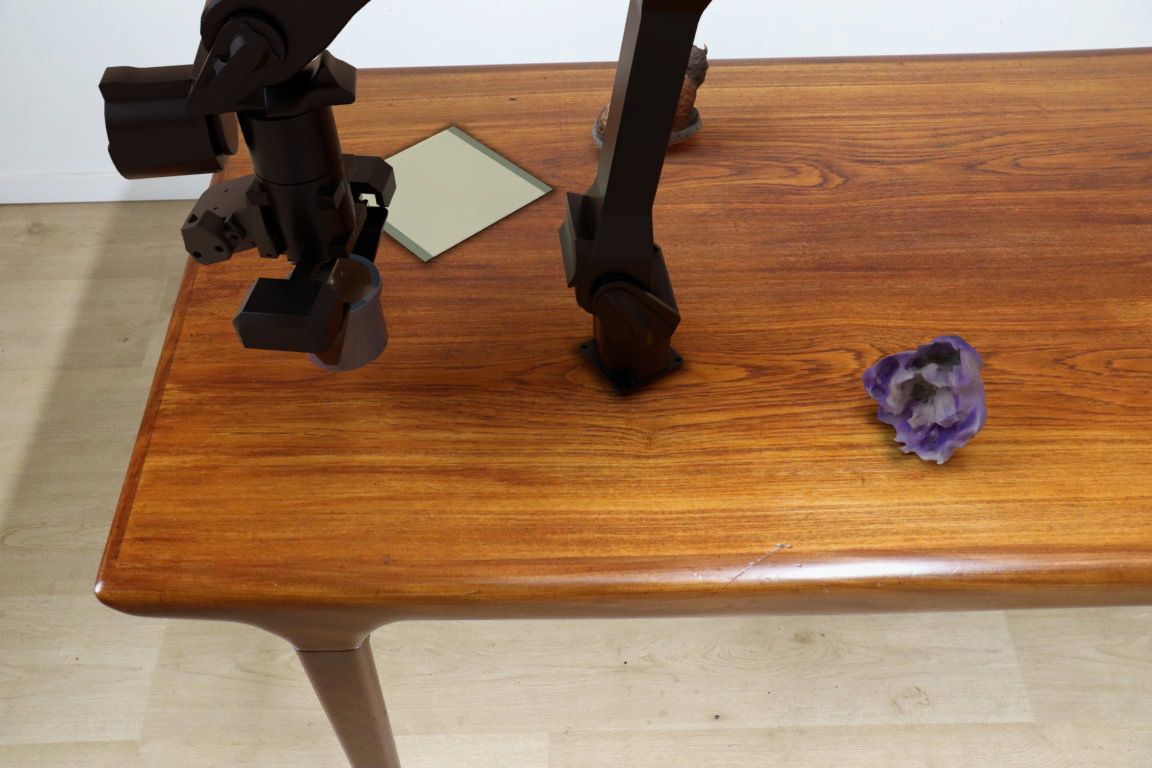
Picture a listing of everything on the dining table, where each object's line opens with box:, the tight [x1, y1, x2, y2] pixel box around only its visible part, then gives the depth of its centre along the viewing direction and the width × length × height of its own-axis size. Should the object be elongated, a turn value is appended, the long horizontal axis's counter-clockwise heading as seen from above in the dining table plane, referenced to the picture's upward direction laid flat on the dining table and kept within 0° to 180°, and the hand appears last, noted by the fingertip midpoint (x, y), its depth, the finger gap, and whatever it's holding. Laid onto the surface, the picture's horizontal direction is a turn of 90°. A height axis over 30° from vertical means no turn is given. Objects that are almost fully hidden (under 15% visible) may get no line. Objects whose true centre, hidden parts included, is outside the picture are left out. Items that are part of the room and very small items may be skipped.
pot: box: [284, 253, 389, 372], centre depth 71 cm, size 7×7×6 cm
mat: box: [362, 125, 554, 263], centre depth 95 cm, size 16×16×1 cm
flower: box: [861, 334, 988, 465], centre depth 72 cm, size 9×9×10 cm
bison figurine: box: [591, 43, 710, 151], centre depth 97 cm, size 12×7×10 cm, turn 106°
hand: (344, 331), depth 73 cm, fingers closed on pot, 6 cm apart
